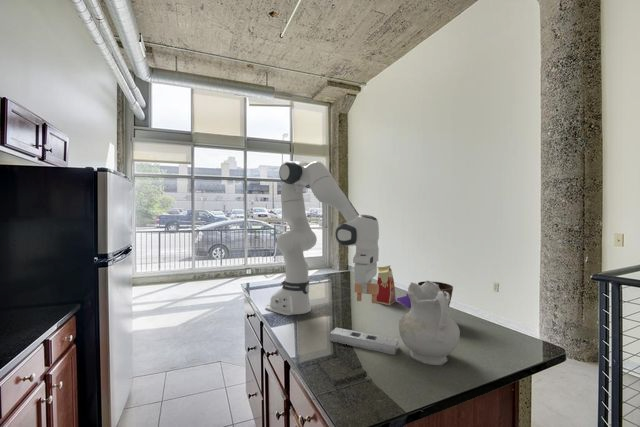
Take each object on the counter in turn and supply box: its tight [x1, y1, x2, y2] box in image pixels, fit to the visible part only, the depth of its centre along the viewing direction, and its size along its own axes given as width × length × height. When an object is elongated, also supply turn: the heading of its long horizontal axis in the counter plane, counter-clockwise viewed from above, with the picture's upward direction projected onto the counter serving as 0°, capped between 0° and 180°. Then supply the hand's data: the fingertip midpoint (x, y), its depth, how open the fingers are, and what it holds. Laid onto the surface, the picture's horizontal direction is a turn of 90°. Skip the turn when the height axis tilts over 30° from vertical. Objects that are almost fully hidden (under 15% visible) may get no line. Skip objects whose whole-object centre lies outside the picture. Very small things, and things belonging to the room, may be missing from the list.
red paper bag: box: [375, 265, 397, 306], centre depth 161 cm, size 9×9×20 cm
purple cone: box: [396, 293, 411, 308], centre depth 159 cm, size 12×7×7 cm, turn 15°
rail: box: [329, 327, 399, 356], centre depth 110 cm, size 24×6×3 cm, turn 66°
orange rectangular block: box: [354, 282, 379, 304], centre depth 118 cm, size 9×3×7 cm, turn 66°
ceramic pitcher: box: [398, 280, 461, 366], centre depth 100 cm, size 22×20×25 cm
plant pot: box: [417, 280, 454, 308], centre depth 135 cm, size 15×15×16 cm
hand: (366, 291), depth 118 cm, fingers closed on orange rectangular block, 3 cm apart
